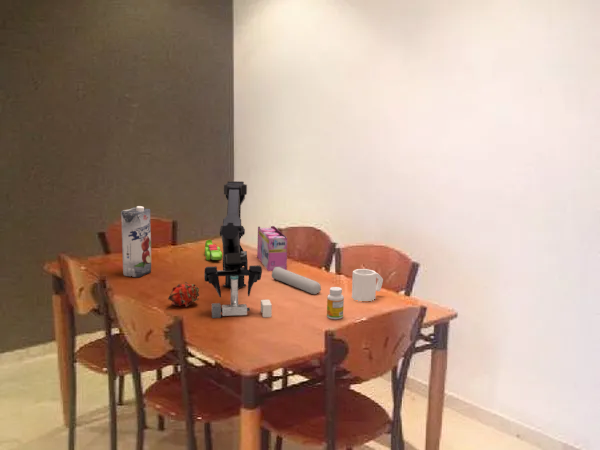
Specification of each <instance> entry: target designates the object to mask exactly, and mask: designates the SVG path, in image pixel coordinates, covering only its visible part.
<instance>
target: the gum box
mask: <svg viewBox="0 0 600 450" xmlns="http://www.w3.org/2000/svg"><path fill="white" fill-rule="evenodd" d="M256 255H257V259H258V260H259V261H260V262H261V263H262V265H263V266H264V267H265V269H266V270H267V271H268V272H272V271H273V270H274V268H275V267H281V268H282V269H285V270H288V268H287V267H288V266H287V264H288V263H287V261H288V237H287V236H286V235H285V234H283V233H282V232H281V231H280V230H279V229H278V227H276V226H275V225H272V226H271V225H270V227H261V226H257V254H256Z"/></svg>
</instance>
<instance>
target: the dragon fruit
mask: <svg viewBox="0 0 600 450" xmlns="http://www.w3.org/2000/svg"><path fill="white" fill-rule="evenodd" d="M184 283H185V284H183V283H178V284H176V286H173V288H172V289H171V292H170V294H169V297H168V301H171V305H172V306H174V307H176V306H177V307H181V306H184V305H185V307H186V308H188V306H191V305H193V303H194V302H196V301H199V300H200V298H198V297H200V293H199V292H200V290H199V289H200V288H199V287H198V286H196V284H195V283H190V284H189V283H188V282H187V281H185V282H184Z"/></svg>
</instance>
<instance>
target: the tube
mask: <svg viewBox="0 0 600 450" xmlns="http://www.w3.org/2000/svg"><path fill="white" fill-rule="evenodd" d="M271 278H272V279H274V280H275V281H276V280H277V281H279V282H281V283H283V284H286V285H289V286H291V287H294V288H297V289H299V290H301V291H304V292H306V293H309V294H311V295H317V293H318V294H319V293H320V292H321V290H322V287H321V286H322V285H321V284H320V283H319V282H318V281H316V280H313V279H311V278H309V277H305V276H303V275H300V274H298V273H295V272H292V271H290V270H288V269H287V270H285V269H282V268H281V267H275V268H274V270H273V271H271Z"/></svg>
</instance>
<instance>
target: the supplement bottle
mask: <svg viewBox="0 0 600 450" xmlns="http://www.w3.org/2000/svg"><path fill="white" fill-rule="evenodd" d="M342 293H343V288H342V287H339V286H331V287H330V288H329V294H328V295H327V298H326V299H327V301H326V303H327V305H326V317H327V318H328V319H330V320H341V319H343V317H344V307H345V305H344V304H345V303H344V302H345V297H344V295H343V294H342Z"/></svg>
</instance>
